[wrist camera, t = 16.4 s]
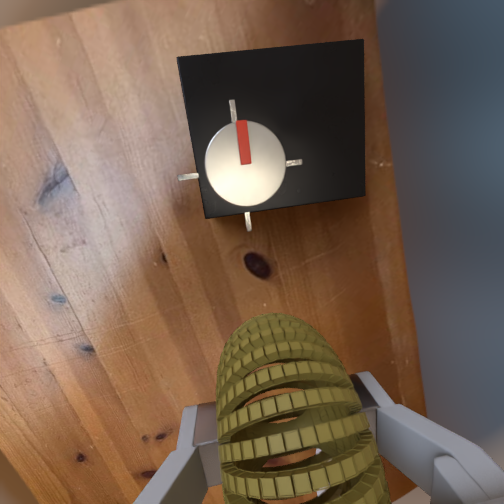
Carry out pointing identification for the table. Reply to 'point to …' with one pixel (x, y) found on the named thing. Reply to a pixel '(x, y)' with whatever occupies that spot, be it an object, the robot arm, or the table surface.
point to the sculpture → (297, 430)
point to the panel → (283, 117)
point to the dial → (245, 163)
